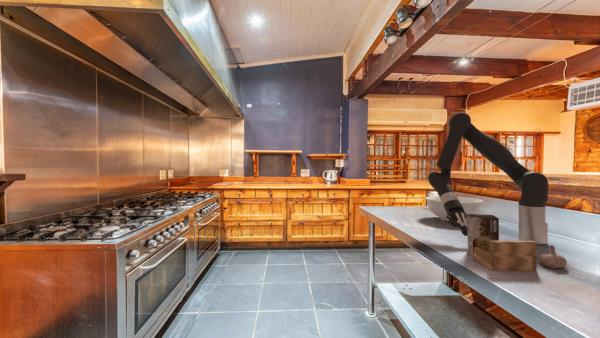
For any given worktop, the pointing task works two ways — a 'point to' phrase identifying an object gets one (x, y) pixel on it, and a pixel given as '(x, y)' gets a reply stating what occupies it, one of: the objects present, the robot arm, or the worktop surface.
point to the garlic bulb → (553, 259)
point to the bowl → (468, 203)
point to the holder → (508, 256)
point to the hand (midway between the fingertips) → (467, 235)
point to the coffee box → (481, 231)
